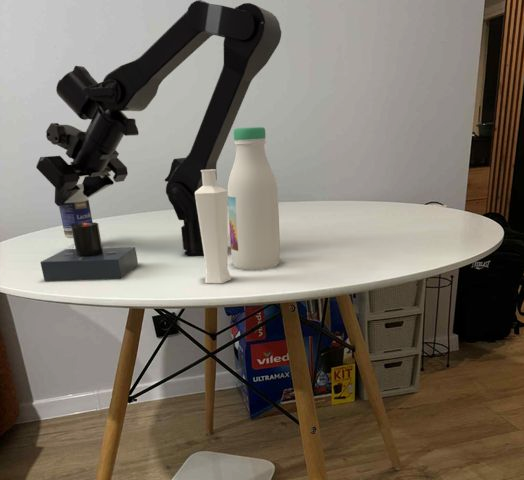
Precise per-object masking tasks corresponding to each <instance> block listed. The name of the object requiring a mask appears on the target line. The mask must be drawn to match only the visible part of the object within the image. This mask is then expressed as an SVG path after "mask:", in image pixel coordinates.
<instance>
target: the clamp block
mask: <svg viewBox="0 0 524 480" xmlns="http://www.w3.org/2000/svg"><path fill="white" fill-rule="evenodd" d="M102 249H103V253H102V254H99V255H94V256H77V254H76V249H75V248H66V249H63V250H61V251H59V252H57V253H55V254H53V255H51V256H50V257H47V258H45V259H43V260H41V261H40V267H41V271H42V275H43V281H44V282H61V281H62V282H63V281H64V282H65V281H93V280H94V281H96V280H97V281H98V280H99V281H100V280H121V279H123V278H124V277H125V276H126V275H127V274H129V273H130V272H131V271H132V270H134V269H135V268H136V267H137V266H138V265H139V261H138V255H137V249H136V246H122V247H121V246H119V247H102Z"/></svg>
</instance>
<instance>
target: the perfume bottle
mask: <svg viewBox="0 0 524 480" xmlns="http://www.w3.org/2000/svg"><path fill="white" fill-rule="evenodd" d="M201 172H202V181H203V186H202V187H200V188H199V189H198V190H197V191H195V199H196V205H197V212H198V219H199V225H200V232H201V238H202V245H203V251H204V254H203V257H204V263H205V269H206V270H205V279H204V281H205V282H204V283H205V284H224V283H226V282H228V281H230V280H232V276H231V275H230V272H229V267H228V265H229V263H228V262H229V261H228V259H229V258H228V256H229V255H228V254H229V253H228V252H229V250H228V248H229V245H228V241H229V239H228V238H229V237H228V234H229V233H228V230H229V229H228V228H229V227H228V226H229V225H228V224H229V212H228V189H225V188H223V187H221V186H219V185H217V180H216V174H217V169H216V170H215V169H209V170H201Z"/></svg>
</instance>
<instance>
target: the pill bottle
mask: <svg viewBox="0 0 524 480" xmlns="http://www.w3.org/2000/svg"><path fill="white" fill-rule="evenodd" d="M77 186H78V187H79V188H80V190H79V191H78V192H76V193H75V194H74V195H73V196H72V197H70V198H69V199H68V200H67V201H66V202H65V203H63V204H62V205H61V206H58V209H59V213H60V218H61V219H60V220H61V224H62V229H63V234H64V236H65V238H67V239H73V234H72V229H71V226H72V225H74V224H79V223H94V222H93V217H92V212H91V211H92V210H91V207H90V206H91V205H90V201H89V198H88V197H87V196H85V195H84V194H83V190H84V187H83V184H82V183H77Z"/></svg>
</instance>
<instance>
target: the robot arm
mask: <svg viewBox="0 0 524 480" xmlns="http://www.w3.org/2000/svg"><path fill="white" fill-rule="evenodd" d="M213 36H217V37H221V38H224V39H223V65H222V69H221V71H220V74H219V77H218V79H217V82H216V84H215V87H214V90H213V92H212V94H211V98H210V99H209V102H208V105H207V107H206V109H205V112H204V115H203V118H202V120H201V123H200V126H199V128H198V130H197V133H196V137H195V138H194V141H193V144H192V146H191V149H190V151H189V153H188V154H187V155H186V157H178V158H173V160H172V162H171V166H170V170H169V173H168V175H167V177H165V178H164V182H166V186H165V194H166V195H167V199H168V201H169V202H170V204H171V205H172V207H173V210H174V212H175V215H176V217H177V220H178V221H183V225H182V226H181V227H180V228H181V229H180V230H181V231H180V232H181V239H182V247H183V248H182V249H183V250H184V256H200V255H201V256H202V255H203V256H204V251H203V245H202V238H201V232H200V225H199V219H198V212H197V205H196V199H195V191H197V190H198V189H199V188H200V187H202V186H203V181H202V172H201V170H209V169H215V170H216V171H217V163H218V161H219V158H220V156H221V153H222V151H223V149H224V146H225V145H226V142H227V139H228V137H229V134H230V132H231V130H232V127H233V125H234V123H235V120H236V118H237V116H238V114H239V111H240V109H241V107H242V105H243V104H242V103H244V102H243V101H244V100H245V97H246V94H247V92H248V90H249V87H250V85H251V83H252V81H253V79H254V78H255V77H257V75H258V74H259V73H260V72H261V70H262V69H263V68H264V67H266V65H267V64H268V62H269V61H270V59H271V58H272V56H273V54H274V53H275V51H276V50H277V48H278V46H279V44H280V43H281V38H282V29H281V24H280V21H279V20H278V17H277V16H276V15H274V14H273V12H271V11H269V10H266V9H264V8H262V7H261V6H258V5H256V4H254V3H251V2H245V3H242V4H240V5H238V6H235V7H231V6H226V5H221V4H214V3H209V2H207V1H204V0H195V1H194V2H192V3H190V5H189V6H188V7H187V10H186V11H185V12H184V13H183V14H182V15H181V16H180V17H179V18H178V19H177V20H176V21H175V22H174V23H173V24H172V25H171V26H170V27H169V28H168V29H167V30H166V31H165V32H164V33H163V34H162V35H161V36H160V37H158V39H157V40H156V41H155V42H153V43H152V45H150V47H149V48H148V49H146V51H144V52H143V53H142V54H141V56H139V57H138V58H136V59H134V60H132V61H129V62H127V63H124V64H122V65H120V66H118V67H116V68H115V69H113V70H112V71H110V72H109V73H107V74H106V75H105V77H104V78H103V80H102V81H100V82H97V81H96V79H95V78H94V77H93V76H92V75H91V74H90V72H89V71H88V69H87V68H86V67H85V66H82V65H75V66H74V67H73V70H72V71H69V72H68V73H65V74H64V76H63V77H61V79H59V80H58V82H57V84H56V89H55V90H56V95H57V96H58V97H59V98H60V99H61V100H62V101H63V102H64V103H65V104H66V105H67V106H68V108H70V109H71V110H72V112H73V113H74V114H75V115H76V116H77V117H78V118H79V119H80V120H83V121H86V120H91V121H90V123H89V124H88V127H87V128H86V131H82V130H81V129H78V128H77V127H75V126H73V125H69V124H59V123H58V122H51V123H50V124H49V126H48V127H47V129H46V131H45V133H46V135H45V137H46V140H47V141H48V142H50V143H51V144H52V145H54V146H58V147H59V148H61V149H64V150H66V151H65V155H66V156H67V157H68V158H69V159H72V161H70V163H68V162H67V161H66V160H65V159H64V158H63V157H62V156H61V155H50V156H48V155H47V156H40V157H39V159H38V161H37V163H36V166H35V167H36V169H37V170H38V171H39V172H40V174H42V176H43V177H45V179H46V180H47V181H48V182H49V183H50V184H51V185H52V186H53V187H54V204H55V205H56V206H57V207H59V206H61V205H62V204H63V203H65V202H66V201H67V200H68V199H69V198H70V197H72V196H73V195H74V194H75V193H76V192H78V191H79V190H80V188H79V187H78V186H77V184H79V181H80V179H81V178H83V180H82V183H81V184H83V187H84V190H83V194H84V195H85V196H87V197H88V199H89V198H91V197H92V196H94V195H96V194H97V193H100V192H101V191H103V190H105V189H107V188H108V187H110V186H113V185H114V182H115V183H120V182H125V180H126V178H127V176H128V174H129V173H128V167H127V166H126V165H125V164H124V162H122V160H120V158H118V156H119V154H120V153H119V152H118V151H117V148H118V146H119V144H120V143H121V141H122V140H123V137H124V136H126V137H128V136H131V137H132V136H139V129H138V126H137V123H136V118H129V117H128V116H127V115H126V114H125V113H124V112H142V111H144V110H146V109H147V108H148V107H149V105H150V104H151V102H152V101H153V100H154V98H155V97H156V95H157V94H158V91H159V87H160V85H161V83H163V81H164V80H165V79H166V78H167V77H168V76H169V75H171V73H172V72H174V71H175V70H176V69H177V68H178V67H179V66H180V65H181V64H183V62H184V61H186V60H187V59H188V58H189V57H190V56H191V55H192V54H193V53H194V52H196V51H197V50H198V49H199V48H200V47H201V46H202V45H203V44H204V43H205V42H207V41H208V40H209V39H210V38H211V37H213ZM111 173H113V174H114V175H113V177H112V178H111ZM217 174H218V173H216V181H217V177H218V176H217Z"/></svg>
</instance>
